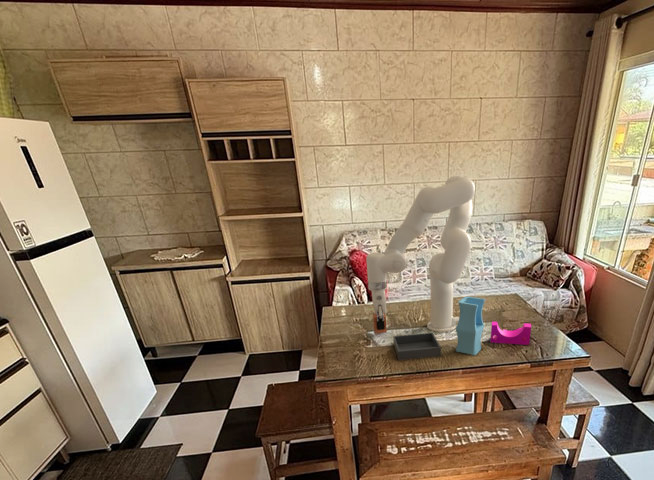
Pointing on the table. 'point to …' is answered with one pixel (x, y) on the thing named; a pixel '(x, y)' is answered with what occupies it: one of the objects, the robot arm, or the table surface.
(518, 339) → the toy block
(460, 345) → the vase
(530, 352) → the table surface
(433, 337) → the tub
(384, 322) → the wooden block
